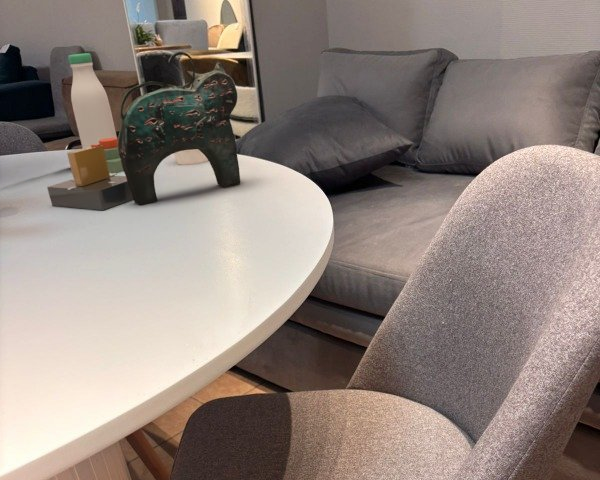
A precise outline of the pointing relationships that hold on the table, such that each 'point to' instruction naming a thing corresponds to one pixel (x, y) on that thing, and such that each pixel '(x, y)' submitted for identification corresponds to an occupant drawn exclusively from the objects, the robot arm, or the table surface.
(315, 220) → the table surface
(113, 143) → the dispenser button
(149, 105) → the ceramic cat
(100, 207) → the base
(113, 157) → the dispenser
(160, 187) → the table surface
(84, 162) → the yellow rectangular block
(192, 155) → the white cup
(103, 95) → the milk bottle
